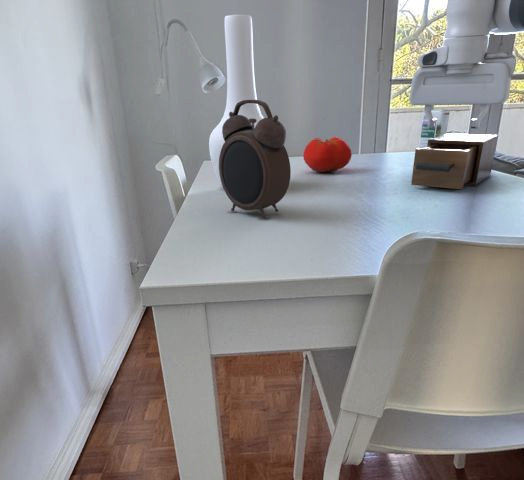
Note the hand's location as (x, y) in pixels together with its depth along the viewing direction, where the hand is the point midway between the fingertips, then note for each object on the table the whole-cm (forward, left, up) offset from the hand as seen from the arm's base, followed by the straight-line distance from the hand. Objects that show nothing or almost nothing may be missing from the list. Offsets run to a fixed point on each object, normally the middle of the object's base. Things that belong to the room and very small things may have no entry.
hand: (452, 128), depth 104 cm
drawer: (0, +1, -12) cm, 12 cm away
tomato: (+35, -6, -13) cm, 38 cm away
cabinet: (0, -11, -13) cm, 17 cm away
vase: (+42, +22, -13) cm, 49 cm away
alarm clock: (+24, +43, -13) cm, 51 cm away
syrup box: (+13, -29, -13) cm, 35 cm away
